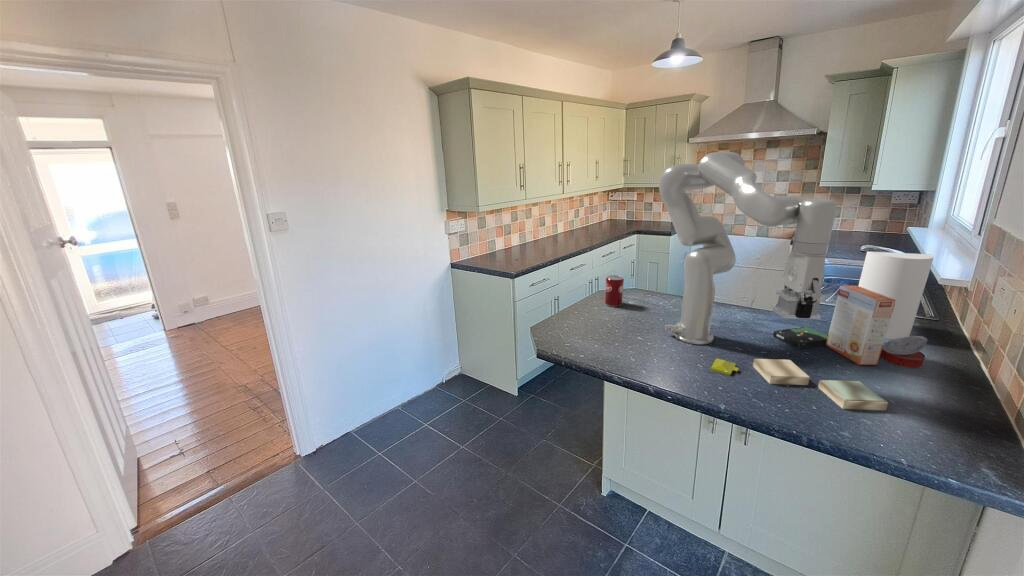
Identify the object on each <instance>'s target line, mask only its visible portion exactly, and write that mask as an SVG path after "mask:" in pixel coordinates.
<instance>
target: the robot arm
mask: <svg viewBox="0 0 1024 576" xmlns="http://www.w3.org/2000/svg"><path fill="white" fill-rule="evenodd" d="M757 177H758V176H757V174H756V172H755V171H754V170H752V169H750V168H749V167H748V166H747V167H746V165H745V159H744V158H743V156H742V155H741V154H739V153H737V152H734V151H715V152H710V153H707V154H705V155H704V156H702V158H701V159H700V161H699V163H682V164H681V163H680V164H674V165H671V166H669V167H667V169H666V170H664V171H663V173H662V175H661V176H660V179H659V184H658V191H659V196H660V199H661V201H662V202H663V205H664V206H665V208H666V211H667V212H668V214H669V217H670V220H671V223H672V226H673V227H674V231H675V234H676V235H677V237H678V240H679V242H680V243H681V245H683V246H684V247H685V246H686V247H696V246H703V247H698V248H695V249H693V250H691V251H689V252H688V253H687V254H686V256H685V257H684V260H683V268H684V270H683V271H684V285H683V287H684V288H683V297H682V304H681V313H680V319H679V320H680V321H677V323H674V324H665V326H664V329H665V331H670V333H673V335H674V337H675V339H677V340H680V342H684V343H687V344H692V345H707V344H710V343H712V342H713V341H714V339H715V338H714V337H715V336H714V334H712V333H711V332H710V330H711V329H710V328H711V323H712V316H713V314H712V313H713V310H714V309H713V308H714V301H715V294H716V284H715V281H714V276H715V275H719V274H723V273H724V274H725V273H727V272H729V271H731V270H732V269H733V268H734V266H735V264H736V253H735V250H734V247H733V245H732V243H731V241H730V237H729V235H728V234H727V231H726V228H725V227H724V226H725V225H724V224H723V223H722V222H721V221H720V220H719V219H718V218H717V217H714V216H711V215H710V216H709V215H706V216H701V215H700V213H699V211H698V209H697V207H696V204H695V202H694V201H693V199H692V198H691V197H690V196H689V195H688V194H687V193H686V191H693V190H702V189H707V188H711V187H713V186H714V187H717V188H719V189H720V190H721V191H723V192H724V193H725V194H726V195H729V196H730V197H732V199H733V202H734V204H735V206H736V207H737V208H738V210H739V211H741V213H743V214H744V215H746V216H747V217H749V218H750V219H751V220H753V221H755V222H757V223H758V224H759V225H763V226H766V227H776V226H777V227H778V226H785V225H786V226H787V225H794V224H795V225H796V226H795V230H794V235H793V241H792V246H791V250H790V252H789V254H788V257H787V259H786V263H785V268H784V270H783V274H782V280H781V282H782V284H783V286H784V288H785V290H794V291H795V292H797V293H801V303H799V306H798V311H797V316H796V317H797V318H810V317H811V312H812V308H813V305H814V304H815V302H816V301H817V300H818V299H819V298H821V297H822V296H823V295H822V292H821V289H822V285H823V281H824V275H825V269H826V268H825V267H826V256H827V255H828V254H827V253H828V249H829V245H830V241H831V235H832V231H833V226H834V223H835V218H836V213H837V208H838V203H837V202H836V201H835V200H833V199H827V198H808V197H803V196H799V195H784V196H783V195H782V196H772V195H771V194H769V193H767V192H765V191H763V190H762V189H760V188H759V187H758V186H757V185H755V184H756V182H757ZM808 290H809V291H810V292H807V291H808ZM806 295H810V296H809V297H808V298H806Z"/></svg>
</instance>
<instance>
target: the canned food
mask: <svg viewBox="0 0 1024 576" xmlns="http://www.w3.org/2000/svg"><path fill="white" fill-rule="evenodd" d="M927 343H928V338H926V337H925V336H922V335H918V336H917V335H911V336H909V337H902V338H896V339H889V340H888V341H886V342H884V343H883V346H882V350H881V353H880V357H879V359H882V360H883V361H885V362H887V363H890V364H892V365H895V366H900V367H903V368H911V369H917V368H921V367H923V365H924V361H925V358H926V355H925V354H924V353H922V352H921V350H924V348H925V347H926V345H927Z"/></svg>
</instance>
